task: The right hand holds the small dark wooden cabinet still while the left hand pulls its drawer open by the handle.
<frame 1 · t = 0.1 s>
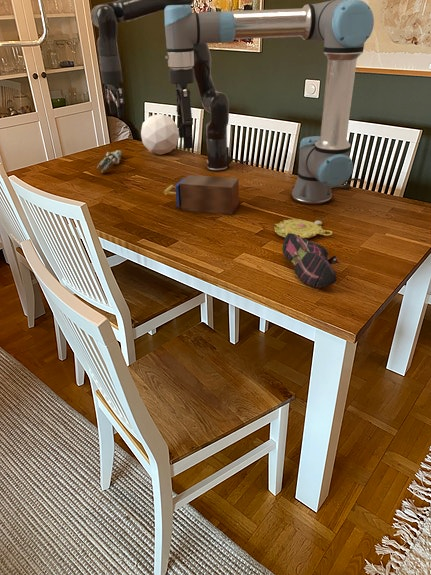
left hand: (117, 115, 171), 29 cm above the table, tool pointing down, fingers open, 8 cm apart
right hand: (185, 142, 139), 28 cm above the table, tool pointing down, fingers open, 13 cm apart
drawer: (196, 193, 165), point 5 cm above the table, slide at 0.9 cm
decorative object: (301, 233, 146), on the table
athletic shoe: (312, 272, 125), on the table
figurine: (111, 165, 215), on the table
cabinet: (210, 207, 167), on the table
sphere: (161, 153, 230), on the table
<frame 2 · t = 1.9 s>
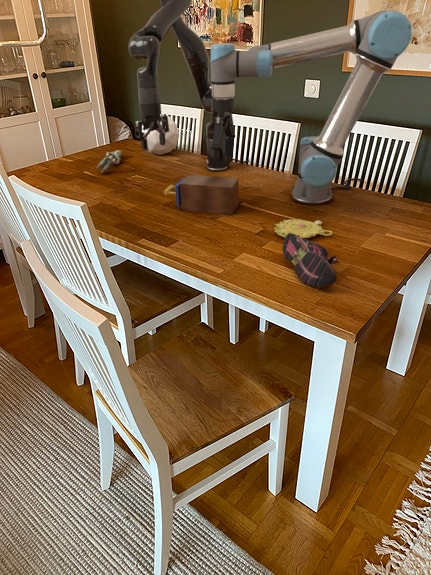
left hand: (154, 147, 164), 20 cm above the table, tool pointing down, fingers open, 8 cm apart
right hand: (224, 162, 156), 18 cm above the table, tool pointing down, fingers open, 13 cm apart
nothing on the table moved.
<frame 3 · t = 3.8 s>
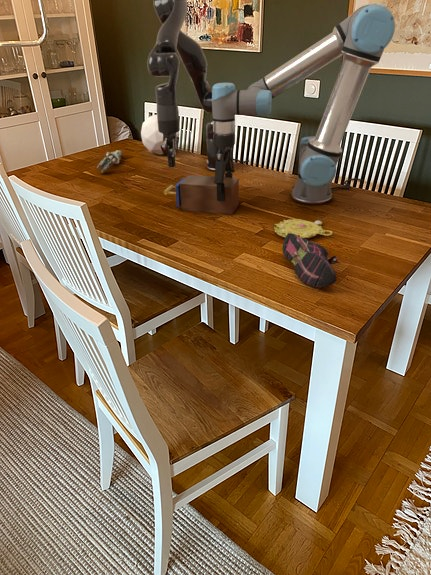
left hand: (172, 166, 162), 15 cm above the table, tool pointing down, fingers closed
right hand: (224, 195, 162), 5 cm above the table, tool pointing down, fingers closed on cabinet, 10 cm apart
cabinet: (210, 207, 167), on the table, touching right hand
everything else where it was.
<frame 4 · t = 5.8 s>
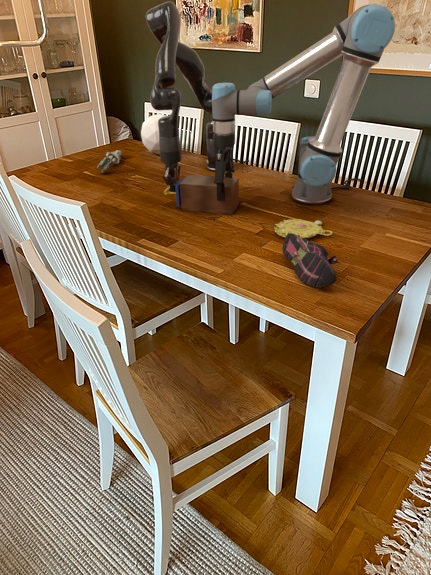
left hand: (173, 194, 168), 4 cm above the table, tool pointing down, fingers closed
right hand: (224, 195, 162), 5 cm above the table, tool pointing down, fingers closed on cabinet, 10 cm apart
drawer: (196, 193, 165), point 5 cm above the table, slide at 0.9 cm, touching left hand
cabinet: (210, 207, 167), on the table, touching right hand
everything else where it was.
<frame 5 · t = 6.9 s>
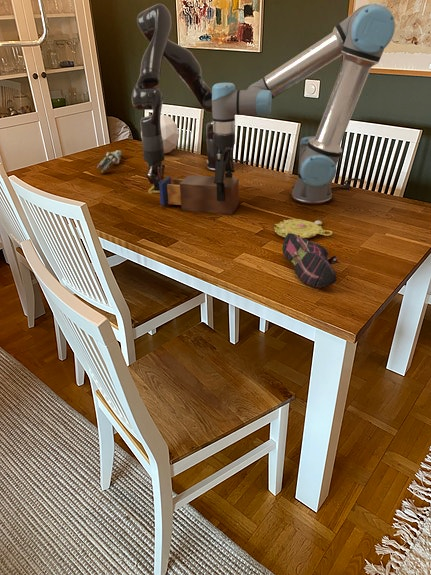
left hand: (158, 192, 170), 4 cm above the table, tool pointing down, fingers closed
right hand: (224, 195, 162), 5 cm above the table, tool pointing down, fingers closed on cabinet, 10 cm apart
drawer: (180, 192, 167), point 5 cm above the table, slide at 7.3 cm, touching left hand
cabinet: (210, 207, 167), on the table, touching right hand
everything else where it was.
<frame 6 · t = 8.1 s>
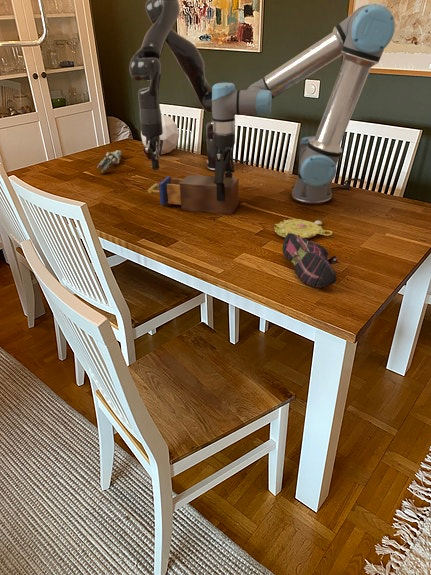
left hand: (155, 169, 165), 13 cm above the table, tool pointing down, fingers closed
right hand: (224, 195, 162), 5 cm above the table, tool pointing down, fingers closed on cabinet, 10 cm apart
drawer: (179, 191, 167), point 5 cm above the table, slide at 7.3 cm
cabinet: (210, 207, 167), on the table, touching right hand
everything else where it was.
when the right hand's fingers open (5 cm above the table, at t = 8.7 s): cabinet stays where it is, on the table.
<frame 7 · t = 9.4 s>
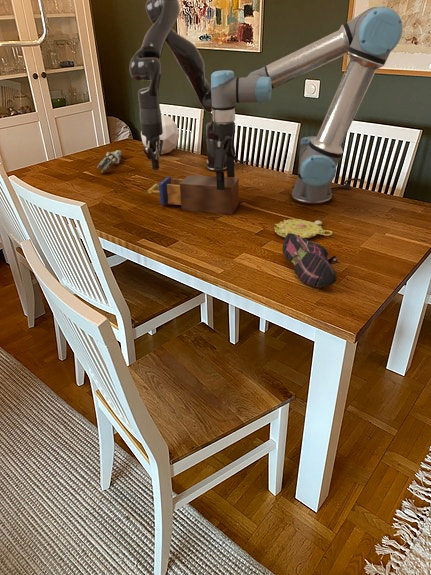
left hand: (155, 169, 165), 13 cm above the table, tool pointing down, fingers closed
right hand: (225, 183, 160), 10 cm above the table, tool pointing down, fingers open, 13 cm apart
cabinet: (210, 207, 167), on the table
everything else where it was.
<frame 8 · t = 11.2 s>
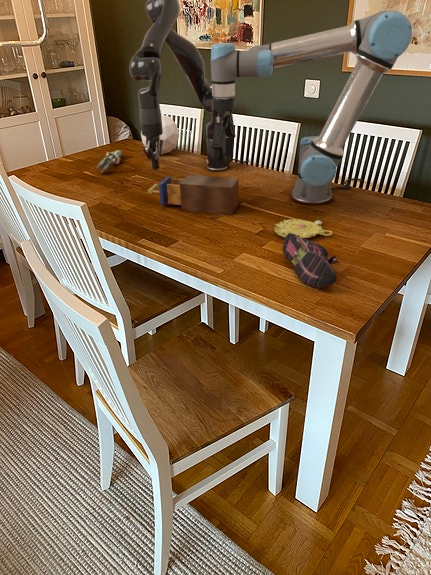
left hand: (155, 169, 165), 13 cm above the table, tool pointing down, fingers closed
right hand: (224, 161, 156), 18 cm above the table, tool pointing down, fingers open, 13 cm apart
nothing on the table moved.
at the end: drawer slide at 7.3 cm; cabinet tilted 0°; cabinet never tilted more than 1° during the clip; cabinet moved 0.1 cm from its start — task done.
